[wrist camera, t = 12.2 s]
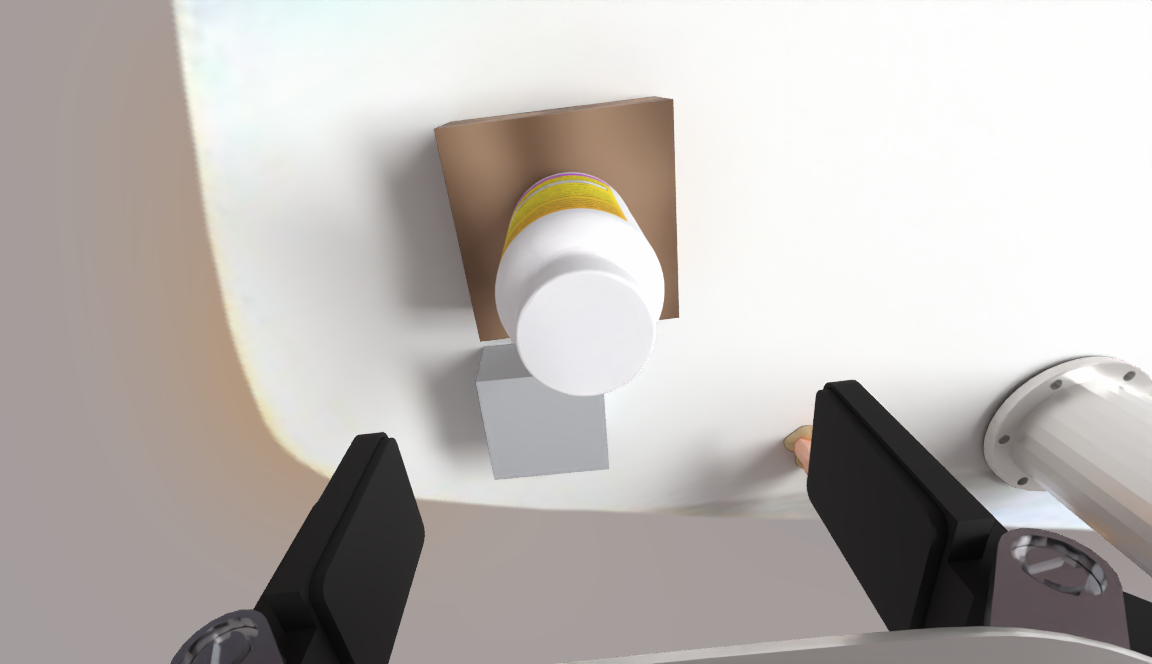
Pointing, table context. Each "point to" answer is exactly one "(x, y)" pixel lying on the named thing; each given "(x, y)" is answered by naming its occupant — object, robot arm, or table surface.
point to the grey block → (536, 421)
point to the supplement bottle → (578, 286)
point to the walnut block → (550, 146)
